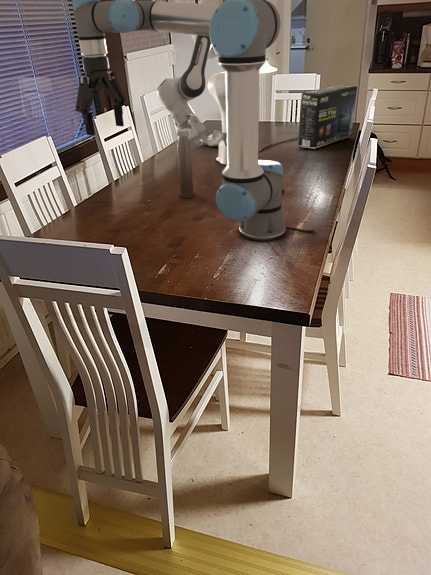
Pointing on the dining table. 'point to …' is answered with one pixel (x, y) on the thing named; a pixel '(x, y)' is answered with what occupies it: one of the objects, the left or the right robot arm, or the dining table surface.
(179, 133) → the cap
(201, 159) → the dining table surface
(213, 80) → the left robot arm
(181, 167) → the bottle
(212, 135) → the fossil
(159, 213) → the dining table surface
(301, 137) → the router box
